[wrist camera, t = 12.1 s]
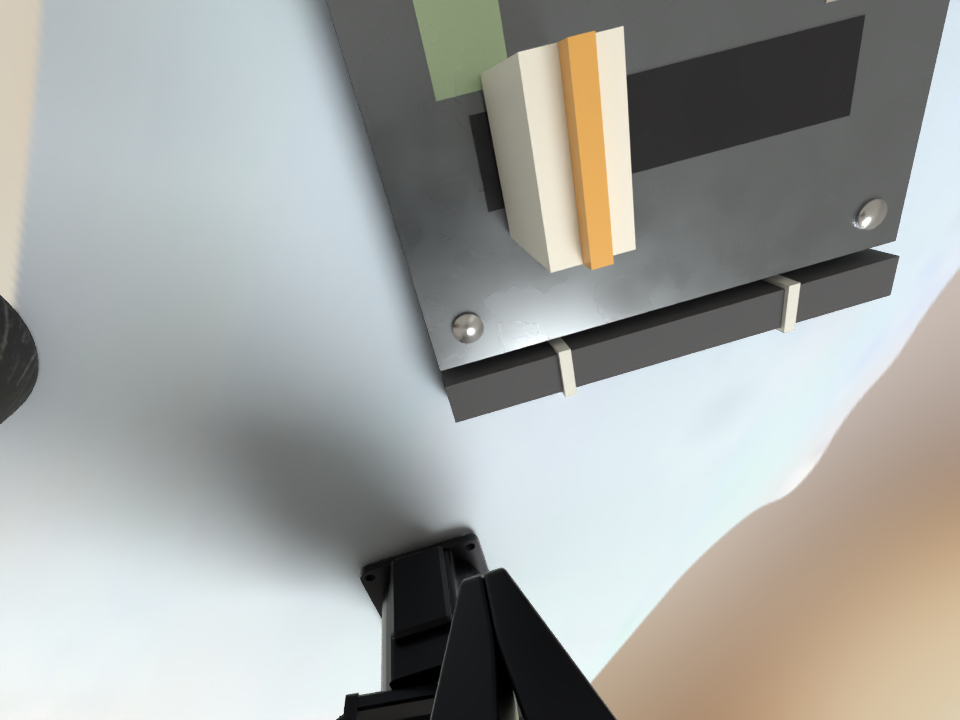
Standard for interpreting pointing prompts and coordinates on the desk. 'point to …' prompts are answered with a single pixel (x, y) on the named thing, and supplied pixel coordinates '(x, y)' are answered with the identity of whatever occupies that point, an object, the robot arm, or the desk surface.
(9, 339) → the travel mug
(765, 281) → the cord bundle inner
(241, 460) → the desk surface
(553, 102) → the lever
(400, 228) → the breaker panel
